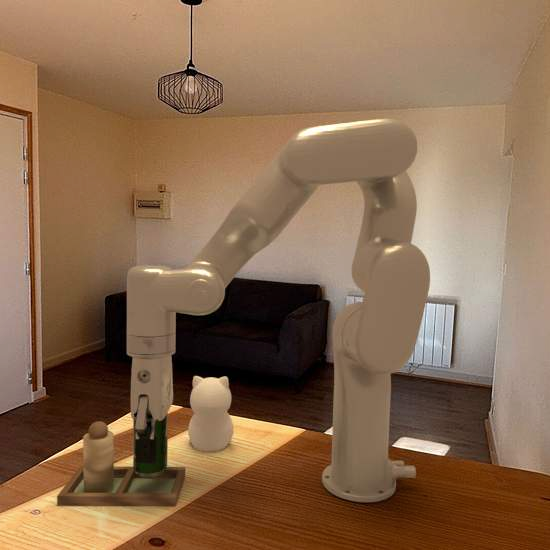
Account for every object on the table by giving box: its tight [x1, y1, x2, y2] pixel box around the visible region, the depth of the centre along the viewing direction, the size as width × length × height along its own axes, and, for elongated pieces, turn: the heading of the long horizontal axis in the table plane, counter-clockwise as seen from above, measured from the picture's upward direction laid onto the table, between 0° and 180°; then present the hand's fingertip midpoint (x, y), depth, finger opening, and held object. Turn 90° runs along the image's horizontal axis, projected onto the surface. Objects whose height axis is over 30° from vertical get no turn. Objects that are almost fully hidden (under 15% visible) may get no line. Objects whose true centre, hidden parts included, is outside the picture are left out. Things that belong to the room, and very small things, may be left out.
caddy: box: [56, 465, 186, 508], centre depth 80 cm, size 18×10×2 cm, turn 91°
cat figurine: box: [187, 375, 234, 453], centre depth 99 cm, size 9×12×15 cm
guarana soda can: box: [132, 409, 169, 477], centre depth 79 cm, size 5×5×12 cm
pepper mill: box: [82, 421, 115, 493], centre depth 79 cm, size 5×5×11 cm
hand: (150, 452), depth 80 cm, fingers closed on guarana soda can, 5 cm apart
